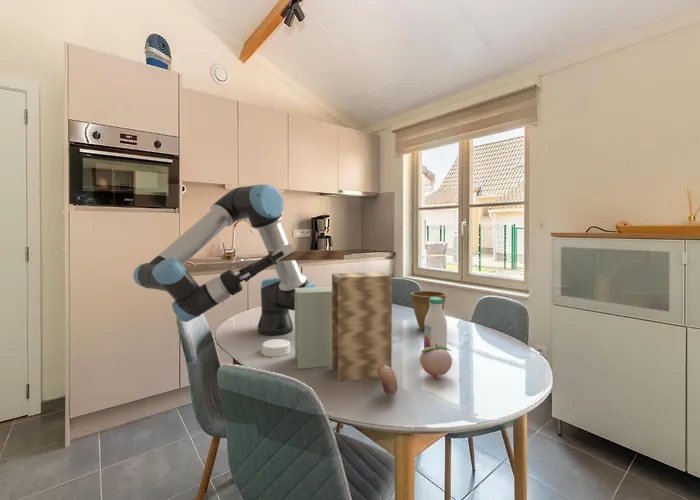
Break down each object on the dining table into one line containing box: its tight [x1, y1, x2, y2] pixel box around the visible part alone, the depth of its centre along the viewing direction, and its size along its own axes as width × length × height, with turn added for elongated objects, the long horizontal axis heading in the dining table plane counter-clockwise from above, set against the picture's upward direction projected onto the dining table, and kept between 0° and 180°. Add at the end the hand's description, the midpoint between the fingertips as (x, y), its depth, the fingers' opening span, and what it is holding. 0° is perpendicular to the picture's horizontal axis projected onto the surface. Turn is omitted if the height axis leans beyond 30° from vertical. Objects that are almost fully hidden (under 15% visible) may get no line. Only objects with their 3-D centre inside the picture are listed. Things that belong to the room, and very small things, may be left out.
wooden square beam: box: [268, 249, 345, 262], centre depth 111 cm, size 24×3×3 cm, turn 104°
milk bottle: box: [423, 297, 448, 349], centre depth 119 cm, size 8×8×20 cm
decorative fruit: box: [419, 344, 453, 378], centre depth 101 cm, size 9×8×10 cm
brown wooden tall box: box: [331, 271, 393, 382], centre depth 104 cm, size 16×10×30 cm, turn 104°
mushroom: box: [377, 365, 399, 396], centre depth 89 cm, size 8×6×8 cm
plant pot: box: [410, 290, 447, 332], centre depth 151 cm, size 15×15×16 cm
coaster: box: [261, 338, 291, 358], centre depth 123 cm, size 10×10×4 cm
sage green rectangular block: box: [294, 286, 332, 370], centre depth 113 cm, size 12×10×24 cm
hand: (291, 247), depth 110 cm, fingers closed on wooden square beam, 3 cm apart
